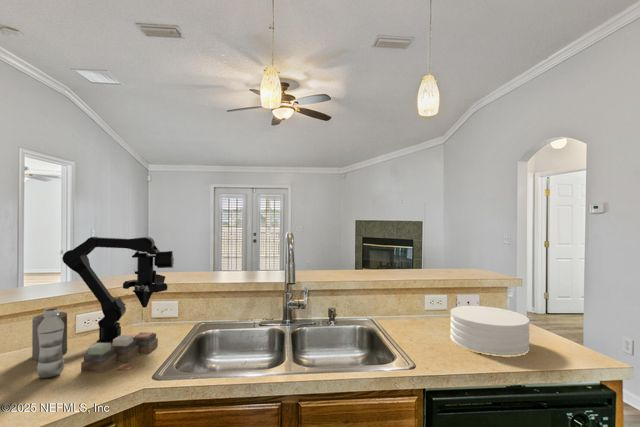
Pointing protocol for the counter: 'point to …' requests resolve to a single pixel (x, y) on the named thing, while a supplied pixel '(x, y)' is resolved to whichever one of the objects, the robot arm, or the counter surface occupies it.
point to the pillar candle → (35, 338)
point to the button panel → (119, 355)
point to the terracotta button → (144, 335)
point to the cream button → (123, 340)
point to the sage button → (99, 349)
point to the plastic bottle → (50, 344)
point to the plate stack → (490, 330)
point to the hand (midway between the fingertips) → (144, 307)
